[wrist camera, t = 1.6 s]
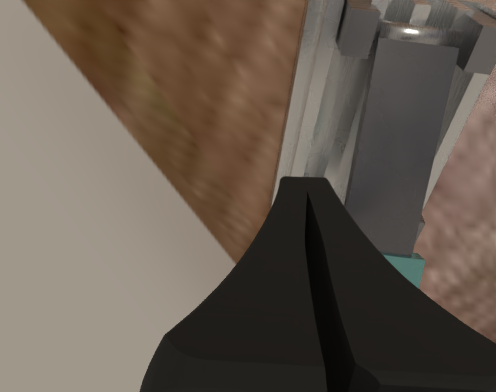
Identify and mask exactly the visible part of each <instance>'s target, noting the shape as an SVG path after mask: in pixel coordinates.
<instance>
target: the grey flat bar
mask: <svg viewBox="0 0 496 392" xmlns="http://www.w3.org/2000/svg"><path fill="white" fill-rule="evenodd" d="M462 41H463V32H462V31H461V30H455V29H447V28H439V27H432V26H424V25H416V24H409V23H401V22H393V21H386V20H380V21H379V22H378V24H377V28H376V31H375V35H374V44H373V49H372V55H371V60H370V66H369V71H368V76H367V82H366V87H365V93H364V98H363V104H362V109H361V115H360V120H359V125H358V131H357V136H356V142H355V147H354V153H353V158H352V164H351V169H350V174H349V180H348V185H347V191H346V196H345V202H344V207H345V208H346V210H347V211H348V213H349V214H350V215H351V217H352V218H353V219H354V221H355V222H356V223H357V225H358V226H359V228H360V229H361V230H362V231H363V233H364V234H365V235H366V236H367V238H368V239H369V240H370V241H371V242H372V243H373V245H374V246H375V247H376V248H377V249H378V250H379V251H380V253H381V254H382V255H383V256H384V257H385V258H386V259H387V260H388V261H389V262H390V263H391V264H392V265H393V266H394V267H395V268H396V269H397V270H398V271H399V272H400V273H401V274H402V275H403V276H404V277H405V278H407V279H408V280H409V281H410V282H411V283H412V284H414V285H415V286H416V287H417V288H418V289H419V286H420V281H421V277H422V273H423V269H424V265H425V259H423V258H422V257H421V256H420V255H419V254H418V253H413V249H414V244H415V240H416V236H417V231H418V227H419V222H420V218H421V214H422V209H423V205H424V201H425V196H426V192H427V188H428V183H429V179H430V175H431V170H432V166H433V161H434V157H435V153H436V148H437V144H438V140H439V135H440V131H441V127H442V122H443V118H444V114H445V109H446V105H447V100H448V96H449V92H450V87H451V83H452V79H453V74H454V70H455V66H456V61H457V57H458V53H459V48H460V46H461V44H462Z"/></svg>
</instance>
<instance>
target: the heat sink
mask: <svg viewBox="0 0 496 392" xmlns="http://www.w3.org/2000/svg"><path fill="white" fill-rule="evenodd" d="M380 20H386V21H393V22H401V23H409V24H416V25H424V26H432V27H439V28H447V29H455V30H461V31H462V32H463V41H462V44H461V46H460V48H459V53H458V57H457V61H456V66H455V70H454V74H453V79H452V83H451V87H450V92H449V96H448V100H447V105H446V109H445V114H444V118H443V122H442V127H441V131H440V135H439V140H438V144H437V148H436V153H435V157H434V161H433V166H432V170H431V175H430V179H429V183H428V188H427V192H426V196H425V201H424V205H423V208H424V206H425V204H426V202H427V200H428V198H429V196H430V194H431V192H432V190H433V188H434V186H435V184H436V182H437V180H438V178H439V176H440V174H441V172H442V170H443V168H444V166H445V164H446V161H447V159H448V157H449V155H450V153H451V151H452V149H453V147H454V145H455V143H456V141H457V139H458V137H459V135H460V133H461V131H462V129H463V127H464V125H465V123H466V121H467V119H468V117H469V115H470V113H471V111H472V109H473V107H474V105H475V102H476V100H477V98H478V96H479V94H480V92H481V90H482V88H483V86H484V84H485V82H486V80H487V78H488V76H489V75H490V74H491V72H492V70H493V68H494V66H495V64H496V1H495V0H306V4H305V9H304V15H303V21H302V26H301V32H300V37H299V43H298V49H297V54H296V60H295V65H294V71H293V76H292V82H291V88H290V93H289V99H288V104H287V110H286V115H285V121H284V127H283V132H282V138H281V143H280V149H279V154H278V160H277V166H276V171H275V177H274V182H273V188H272V193H271V199H270V205H269V211H270V209H271V207H272V205H273V202H274V200H275V197H276V195H277V192H278V188H279V183H280V179H281V178H282V177H283V176H292V177H324V178H327V179H328V181H329V182H330V184H331V186H332V187H333V189H334V191H335V193H336V194H337V196H338V197H339V199H340V201H341V202H342V204H343V205H344V202H345V196H346V191H347V185H348V180H349V174H350V169H351V164H352V158H353V153H354V147H355V142H356V136H357V131H358V125H359V120H360V115H361V109H362V104H363V98H364V93H365V87H366V82H367V76H368V71H369V66H370V60H371V55H372V49H373V44H374V35H375V31H376V28H377V24H378V22H379V21H380ZM422 210H423V209H422ZM424 225H425V221H424V219H423V217H422V215H421V218H420V222H419V227H418V231H417V236H416V240H417V238H418V236H419V234H420V232H421V231H422V229H423V227H424ZM416 240H415V242H416Z"/></svg>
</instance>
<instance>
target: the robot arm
mask: <svg viewBox="0 0 496 392" xmlns="http://www.w3.org/2000/svg"><path fill="white" fill-rule="evenodd" d="M140 392H496V344H495V343H494V342H492V341H491V340H489V339H488V338H486V337H484V336H483V335H481V334H480V333H478V332H477V331H475V330H473V329H472V328H470V327H469V326H467V325H466V324H464V323H463V322H461V321H460V320H459V319H457V318H456V317H455V316H453V315H452V314H450V313H449V312H448V311H446V310H445V309H443V308H442V307H441V306H439V305H438V304H437V303H436V302H434V301H433V300H432V299H430V298H429V297H428V296H427V295H426V294H424V293H423V292H422V291H421V290H420V289H418V288H417V287H416V286H415V285H414V284H412V283H411V282H410V281H409V280H408V279H407V278H405V277H404V276H403V275H402V274H401V273H400V272H399V271H398V270H397V269H396V268H395V267H394V266H393V265H392V264H391V263H390V262H389V261H388V260H387V259H386V258H385V257H384V256H383V255H382V254H381V253H380V251H379V250H378V249H377V248H376V247H375V246H374V245H373V243H372V242H371V241H370V240H369V239H368V238H367V236H366V235H365V234H364V233H363V231H362V230H361V229H360V228H359V226H358V225H357V223H356V222H355V221H354V219H353V218H352V217H351V215H350V214H349V213H348V211H347V210H346V208H345V207H344V205H343V204H342V202H341V201H340V199H339V197H338V196H337V194H336V193H335V191H334V189H333V187H332V186H331V184H330V182H329V181H328V179H327V178H324V177H292V176H283V177H282V178H281V179H280V183H279V188H278V192H277V195H276V197H275V200H274V202H273V205H272V207H271V209H270V211H269V213H268V216H267V218H266V220H265V222H264V223H263V225H262V227H261V229H260V230H259V232H258V234H257V235H256V237H255V239H254V240H253V242H252V244H251V245H250V247H249V248H248V250H247V251H246V252H245V254H244V255H243V257H242V258H241V259H240V261H239V262H238V263H237V264H236V266H235V267H234V268H233V269H232V271H231V272H230V273H229V274H228V276H227V277H226V278H225V279H224V280H223V281H222V282H221V284H220V285H219V286H218V287H217V288H216V289H215V290H214V291H213V292H212V293H211V294H210V295H209V296H208V297H207V298H206V299H205V300H204V301H203V302H202V303H201V304H200V305H199V306H198V307H197V308H196V309H195V310H193V311H192V312H191V313H190V314H189V315H188V316H187V317H185V318H184V319H183V320H182V321H181V322H179V323H178V324H177V325H176V326H175V327H174V328H172V329H171V330H170V331H169V332H167V333H166V334H165V335H164V337H163V339H162V340H161V342H160V344H159V346H158V348H157V350H156V351H155V354H154V356H153V358H152V360H151V362H150V364H149V366H148V369H147V371H146V374H145V376H144V379H143V382H142V385H141V389H140Z"/></svg>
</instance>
